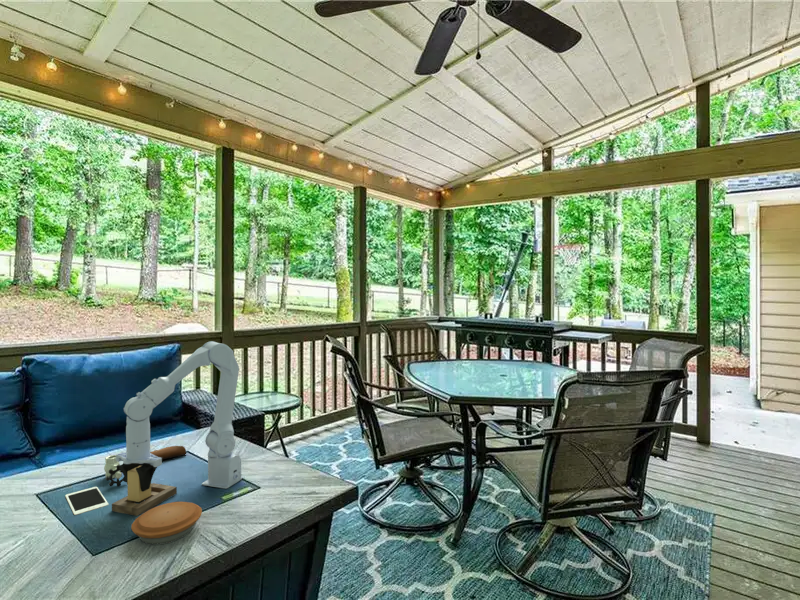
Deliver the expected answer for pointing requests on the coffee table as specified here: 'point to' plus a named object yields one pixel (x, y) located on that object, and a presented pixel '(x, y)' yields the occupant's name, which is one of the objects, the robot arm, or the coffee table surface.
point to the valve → (113, 471)
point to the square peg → (136, 487)
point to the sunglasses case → (169, 452)
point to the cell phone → (86, 500)
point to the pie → (166, 522)
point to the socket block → (157, 496)
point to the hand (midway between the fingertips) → (139, 488)
